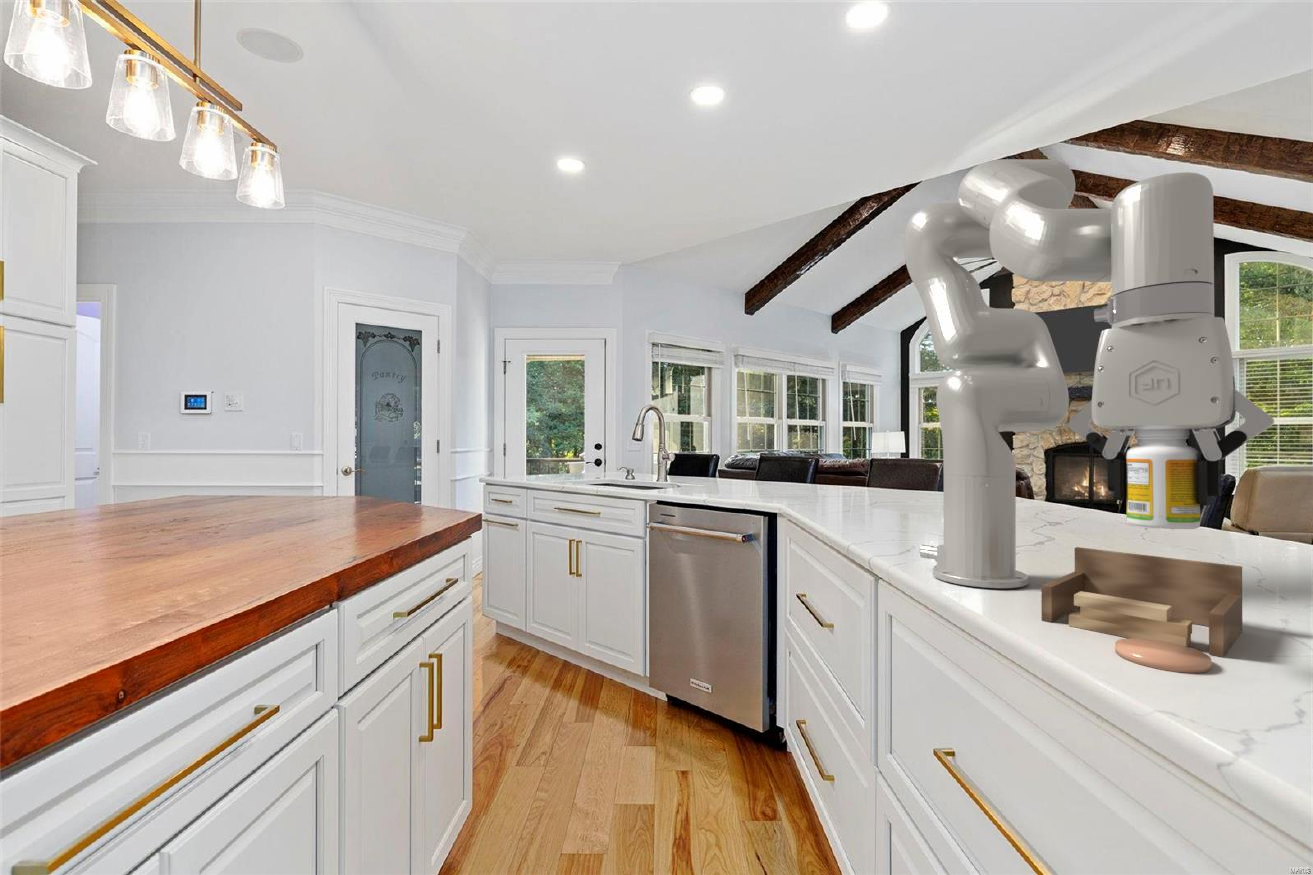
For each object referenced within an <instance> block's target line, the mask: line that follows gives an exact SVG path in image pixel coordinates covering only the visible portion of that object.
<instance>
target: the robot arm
mask: <svg viewBox="0 0 1313 875" xmlns="http://www.w3.org/2000/svg"><path fill="white" fill-rule="evenodd" d="M1075 192H1076V178H1075V175H1074V173H1073V170H1072V169H1071V168H1070V167H1069V166H1068V165H1067V164H1066V163H1065V162H1062V161H1060V160H1057V159H1052V158H1051V159H1050V158H1049V159H1041V158H1039V159H1037V158H1036V159H1030V158H1029V159H1027V158H1026V159H1024V158H1023V159H1022V158H1019V159H1017V158H1015V159H1014V158H1005V159H1004V158H1003V159H994V160H993V159H992V160H988V161H984V162H982V163H980V164H978V165H976V166H975V167H973V168H972V169H970V170H969V171H968V172H967V173H966V174H965V175H964V177H963V178H962V179H961V181H960V184H959V186H958V191H957V200H958V202H942V203H936V204H931V205H928V206H925V207H923V208H921V209H919V210H917V211H916V212H915V213H914V214H912V216H911V217H910V218H909V220H908V222H907V224H906V227H905V232H904V239H903V240H904V241H903V253H904V261H905V265H906V268H907V272H908V273H909V276H910V278H911V281H912V283H913V285H914V286H915V288H916V290H917V292H918V294H919V296H920V298H921V300H922V304H923V306H924V311H925V312H924V313H925V315H926V319H927V320H926V321H927V323H928V328H929V332H930V336H931V342H932V345H933V348H934V352H935V354H936V357H937V358H938V361H939V362H940V363H941V364H942V365H943V366H944V367H947V368H948V369H949V368H950V369H953V370H952V372H949V373H948V374H947V375H945V376H943V378H942V379H941V380H940V382H939V384H938V386H937V389H936V396H935V397H936V398H935V400H936V401H935V402H936V409H937V414H938V419H939V423H940V430H941V437H942V438H941V439H942V451H943V452H942V455H943V456H942V458H943V459H942V460H943V461H942V462H943V464H942V465H943V472H942V473H943V544H939V545H937V546H934V545H929V544H921V545H920V547H919V556H920V558H922V559H928V560H929V559H931V560H934V561H935V562H936V565H934V566H933V567H932V568H931V569H932V575H933V577H935V579H938V580H940V581H943V582H944V581H945V582H947V583H951V584H955V585H962V586H968V587H973V588H974V587H975V588H983V589H984V588H986V589H1016V588H1017V589H1018V588H1023V587H1025V586H1027V585H1028V584H1029V576H1028V574H1026V573H1024V572H1022V571H1021V570H1017V568H1016V566H1017V565H1016V562H1017V559H1016V541H1017V540H1016V536H1017V533H1016V532H1017V528H1016V524H1017V523H1016V522H1017V521H1016V520H1017V519H1016V510H1017V508H1016V504H1017V503H1016V502H1017V500H1016V495H1017V494H1016V489H1017V488H1016V486H1017V485H1016V481H1017V480H1016V479H1017V478H1016V470H1017V469H1016V467H1017V466H1016V461H1015V457H1014V454H1013V452H1012V450H1011V449H1010V446H1008V444H1007V442H1006V441H1005V440H1004V438H1003V437H1002V435H1001V433H1002V432H1042V431H1049V430H1052V429H1054V428H1056V427H1057V426H1059V425H1060V424H1062V422H1063V421H1064V419H1065V418H1066V416H1067V414H1068V410H1069V404H1070V396H1069V389H1068V385H1067V381H1066V377H1065V375H1064V371H1063V368H1062V366H1061V363H1060V360H1059V356H1058V354H1057V351H1056V348H1055V345H1054V343H1053V339H1052V337H1051V336H1052V335H1051V334H1050V331H1049V328H1048V326H1047V324H1046V323H1045V321H1044V320H1043V319H1042V317H1040V316H1039V315H1038V314H1037V313H1035V312H1033V311H1031V310H1028V309H1022V308H1001V307H1000V308H995V307H991V306H989V305H988V304H987V303H986V301H985V299H984V297H983V294H982V291H981V290H982V289H981V286H980V284H979V283H978V281H977V280H976V278H975V277H974V276H973V274H971V272H969V270H968V269H967V268H965V267H964V266H962V265H961V264H960V263H959V262H957V261H956V260H955V258H956V259H957V258H960V259H962V258H963V259H969V258H970V259H971V258H972V259H974V258H975V259H977V258H978V259H983V258H984V259H994V260H995V261H996V263H998V264H1000V266H1002V267H1004V268H1005V269H1006V270H1008V271H1009V272H1011V273H1012V274H1014V275H1016V276H1018V277H1020V278H1022V279H1025V280H1029V281H1033V282H1034V281H1035V282H1043V283H1046V282H1047V283H1048V282H1049V283H1053V282H1055V283H1057V282H1089V283H1111V284H1110V287H1111V292H1110V293H1111V296H1110V297H1111V298H1109V299H1108V303H1107V306H1106V305H1105V306H1104V305H1103V307H1101V308H1095V309H1094V312H1093V318H1094V321H1095V323H1098V322H1099V323H1100V322H1104V323H1108V324H1109V325H1110V326H1111V328H1107V329H1103V330H1101V332H1100V336H1099V340H1098V344H1097V350H1096V356H1095V361H1094V362H1095V363H1094V370H1093V380H1092V395H1091V400H1090V401H1088V403H1086V404H1085V405H1084V406H1083V407H1082V408H1081V409H1080V411H1078V412H1077V413H1076V414H1075V416H1074V417H1073V418H1071V419H1070V420H1069V421H1068V423H1067V427H1068V429H1070V430H1071V431H1072V432H1074V433H1076V435H1078V436H1079V437H1081V438H1082V439H1084V440H1085V441H1086V442H1087V443H1088V444H1089V445H1090V446H1092V448H1094V449H1095V450H1097V451H1098V452H1099V453H1100V454H1101V455H1102V456H1103V457H1104V458H1105V459H1106V460H1107V490H1108V491H1109V492H1113V499H1114V501H1120V502H1121V501H1122V502H1123V501H1126V452H1127V450H1128V447H1129V444H1130V442H1131V439H1132V438H1133V435H1134V433H1135V429H1189V430H1192V433H1193V435H1194V437H1195V440H1196V442H1197V445H1198V446H1199V448H1200V451H1201V453H1200V454H1199V460H1200V461H1199V462H1196V502H1197V504H1199V505H1200V506H1207V507H1208V506H1210V505H1212V504H1214V501H1213V500H1214V497H1222V490H1223V486H1222V482H1223V481H1222V461H1223V460H1224V459H1226V457H1228V456H1229V455H1230V454H1232V453H1233V452H1235V451H1236V450H1237V449H1239V448H1240V447H1242V446H1243V445H1244V444H1246V443H1247V442H1248V441H1250V440H1251V439H1253V438H1254V437H1256V436H1258V435H1260V434H1261V433H1263V432H1265V430H1266V431H1267V429H1269V428H1270V427H1272V426H1274V424H1275V419H1274V418H1273V417H1272V416H1271V415H1269V414H1268V413H1267V412H1266V411H1264V410H1263V409H1261V407H1259V406H1258V405H1257V404H1255V402H1253V401H1251V400H1250V399H1249V398H1248V397H1246V396H1245V395H1244V394H1242V393H1241V392H1240V391H1238V390H1237V388H1236V381H1235V370H1234V368H1235V367H1234V361H1233V352H1232V348H1231V344H1230V337H1229V333H1228V329H1227V326H1226V322H1225V320H1224V319H1225V318H1223V317H1221V316H1215V269H1214V268H1215V264H1214V263H1215V260H1214V259H1215V255H1214V254H1215V253H1214V250H1215V247H1214V245H1215V244H1214V243H1215V242H1214V238H1215V236H1214V233H1215V232H1214V227H1215V226H1214V188H1213V185H1212V182H1211V181H1210V179H1209V178H1207V176H1205V175H1203V174H1200V173H1197V172H1189V171H1188V172H1174V173H1173V172H1172V173H1166V174H1161V175H1157V176H1153V177H1149V178H1145V179H1142V180H1140V181H1137V182H1135V183H1132V184H1130V185H1129V186H1126V187H1125V188H1124V189H1122V190H1121V191H1120V192H1118V194H1117V195H1116V197H1114V200H1113V201H1112V204H1111V208H1069V207H1070V205H1071V203H1072V201H1073V198H1074V196H1075ZM954 369H955V370H954ZM1236 413H1238V414H1239V415H1240V416H1242V417H1243V419H1244V423H1243V424H1242V425H1240V426H1239V427H1237V428H1235V429H1234V430H1233V431H1231V432H1229V433H1228V434H1226V435H1225V436H1224V437H1222V438H1220V435H1219V434H1218V431H1217V430H1216V429H1220V428H1223V427H1226V426H1228V425H1230V424H1232V423H1233V422H1234V420H1235V418H1236ZM1092 422H1093V424H1094V425H1095V426H1097V427H1099V428H1102V429H1105V430H1106V429H1107V430H1110V432H1109V434H1108V437H1107V436H1105V435H1104V434H1103V433H1102V432H1099V431H1098V430H1097V429H1096V428H1094V427H1093V426H1092Z"/></svg>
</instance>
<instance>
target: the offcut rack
mask: <svg viewBox="0 0 1313 875" xmlns="http://www.w3.org/2000/svg"><path fill="white" fill-rule="evenodd" d="M1078 608H1079V611H1074V610H1076V609H1078ZM1073 611H1074V612H1073ZM1070 612H1072V613H1070ZM1069 613H1070V614H1069ZM1068 614H1069V615H1068ZM1066 615H1068V626H1069V627H1073V628H1078V629H1082V630H1086V631H1091V632H1092V631H1093V632H1097V633H1101V634H1102V633H1103V634H1107V635H1112V636H1116V637H1122V638H1125V639H1127V638H1138V639H1150V640H1158V641H1164V642H1169V643H1174V644H1178V645H1182V646H1186V647H1189V648H1190V646H1191V645H1192V634H1193V625H1200V626H1205V627H1208V654H1209V656H1216V657H1221V658H1224V657H1225V655H1226V654H1227V653H1228V651H1229V650H1230V649H1231V647H1232V646H1233V644H1234V643H1235V641H1236V640H1237V638H1238V637H1239V635H1240V634H1241V633H1242V632H1243V566H1242V565H1233V564H1226V563H1225V564H1224V563H1215V562H1210V561H1209V562H1206V561H1202V560H1200V561H1199V560H1191V559H1183V558H1182V559H1181V558H1173V557H1167V556H1166V557H1164V556H1157V555H1155V556H1154V555H1149V554H1148V555H1147V554H1139V553H1131V552H1122V551H1121V552H1120V551H1113V550H1106V549H1097V548H1095V549H1094V548H1088V547H1079V546H1076V547H1074V571H1072V572H1070V573H1068V574H1065V575H1063V576H1061V577H1059V578H1056V579H1054V580H1051V581H1049V582H1047V583H1045V584H1042V585H1041V621H1043V622H1048V623H1053V622H1054V621H1056V620H1058V619H1060V618H1062V617H1063V616H1066Z"/></svg>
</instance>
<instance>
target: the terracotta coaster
mask: <svg viewBox="0 0 1313 875" xmlns="http://www.w3.org/2000/svg"><path fill="white" fill-rule="evenodd" d="M1114 648H1115V649H1114V652H1115V653H1116V655H1118V656H1119V657H1121V658H1123V659H1124V660H1127V661H1128V662H1132V663H1134V664H1137V665H1142V666H1144V667H1148V668H1153V669H1157V670H1161V671H1162V670H1163V671H1168V672H1173V673H1174V672H1177V673H1184V674H1185V673H1187V674H1200V673H1201V674H1202V673H1207V672H1210V671H1211V670H1212V658H1211V656H1210V655H1208V654H1206V653H1205V652H1202V651H1201V650H1198V649H1195V648H1192V647H1190V646H1189V647H1186V646H1182V645H1178V644H1174V643H1169V642H1164V641H1158V640H1150V639H1138V638H1120V639H1118V640H1116V641H1115V643H1114Z"/></svg>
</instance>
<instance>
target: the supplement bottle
mask: <svg viewBox="0 0 1313 875" xmlns="http://www.w3.org/2000/svg"><path fill="white" fill-rule="evenodd" d="M1133 435H1134V439H1135V440H1137V444H1136V445H1133V446H1131V447H1130V448H1127V450H1126V452H1125V453H1126V500H1125V504H1126V521H1127V523H1128V524H1129V525H1131V526H1136V527H1143V528H1148V529H1149V528H1152V529H1167V530H1170V529H1171V530H1196V529H1198V528H1200V525H1201V505H1199V504H1197V502H1196V462H1199V461H1200V454H1199V451H1198V450H1197V449H1196V448H1194V447H1192V446H1190V445H1189V444H1188V445H1187V439H1190V437H1189V436H1190V429H1135V430H1134V433H1133Z"/></svg>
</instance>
